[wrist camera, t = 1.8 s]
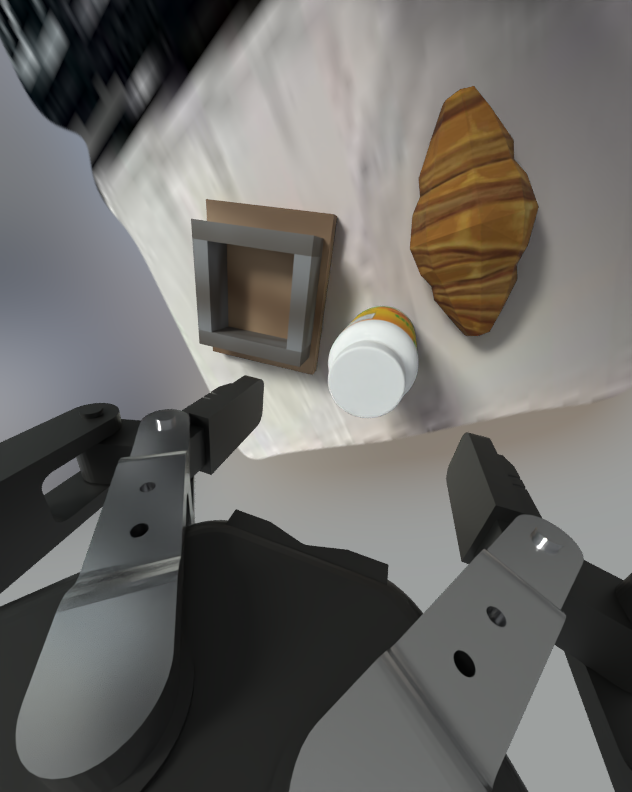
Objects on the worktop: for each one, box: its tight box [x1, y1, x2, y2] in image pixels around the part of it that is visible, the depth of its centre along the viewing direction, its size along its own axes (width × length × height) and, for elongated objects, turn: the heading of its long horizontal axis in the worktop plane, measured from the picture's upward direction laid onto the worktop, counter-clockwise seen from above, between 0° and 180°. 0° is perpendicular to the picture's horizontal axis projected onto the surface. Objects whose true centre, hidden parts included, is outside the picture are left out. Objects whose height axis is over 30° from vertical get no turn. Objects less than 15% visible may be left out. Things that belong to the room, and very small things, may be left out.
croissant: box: [410, 86, 538, 336], centre depth 16 cm, size 14×7×5 cm, turn 15°
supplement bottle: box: [328, 306, 418, 418], centre depth 18 cm, size 5×5×10 cm
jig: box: [191, 199, 337, 375], centre depth 22 cm, size 12×10×4 cm
